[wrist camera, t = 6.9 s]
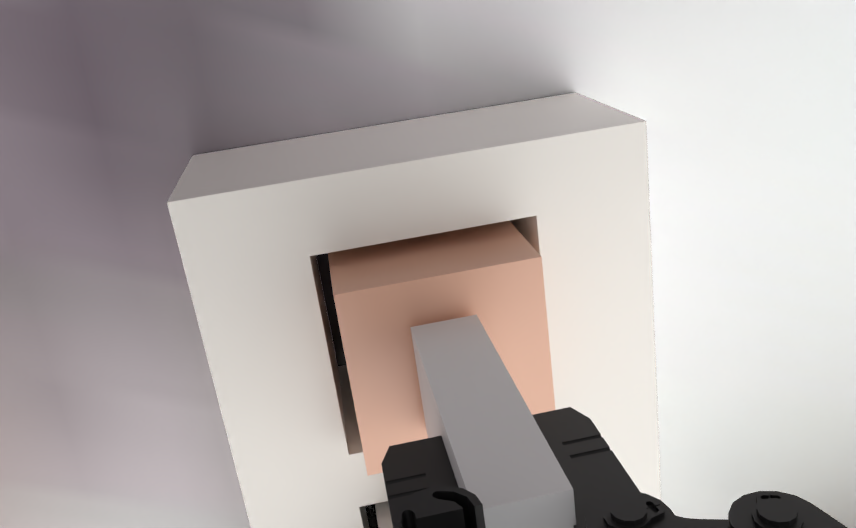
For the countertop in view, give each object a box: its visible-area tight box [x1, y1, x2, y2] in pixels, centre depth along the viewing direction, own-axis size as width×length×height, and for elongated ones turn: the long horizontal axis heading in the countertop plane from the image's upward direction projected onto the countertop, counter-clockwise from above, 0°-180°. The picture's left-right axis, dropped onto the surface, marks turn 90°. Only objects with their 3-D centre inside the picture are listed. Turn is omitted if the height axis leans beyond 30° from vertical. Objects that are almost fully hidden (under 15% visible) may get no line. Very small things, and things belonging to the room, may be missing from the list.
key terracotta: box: [328, 221, 555, 476], centre depth 21 cm, size 5×5×6 cm
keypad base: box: [167, 92, 661, 528], centre depth 25 cm, size 11×23×5 cm, turn 8°
